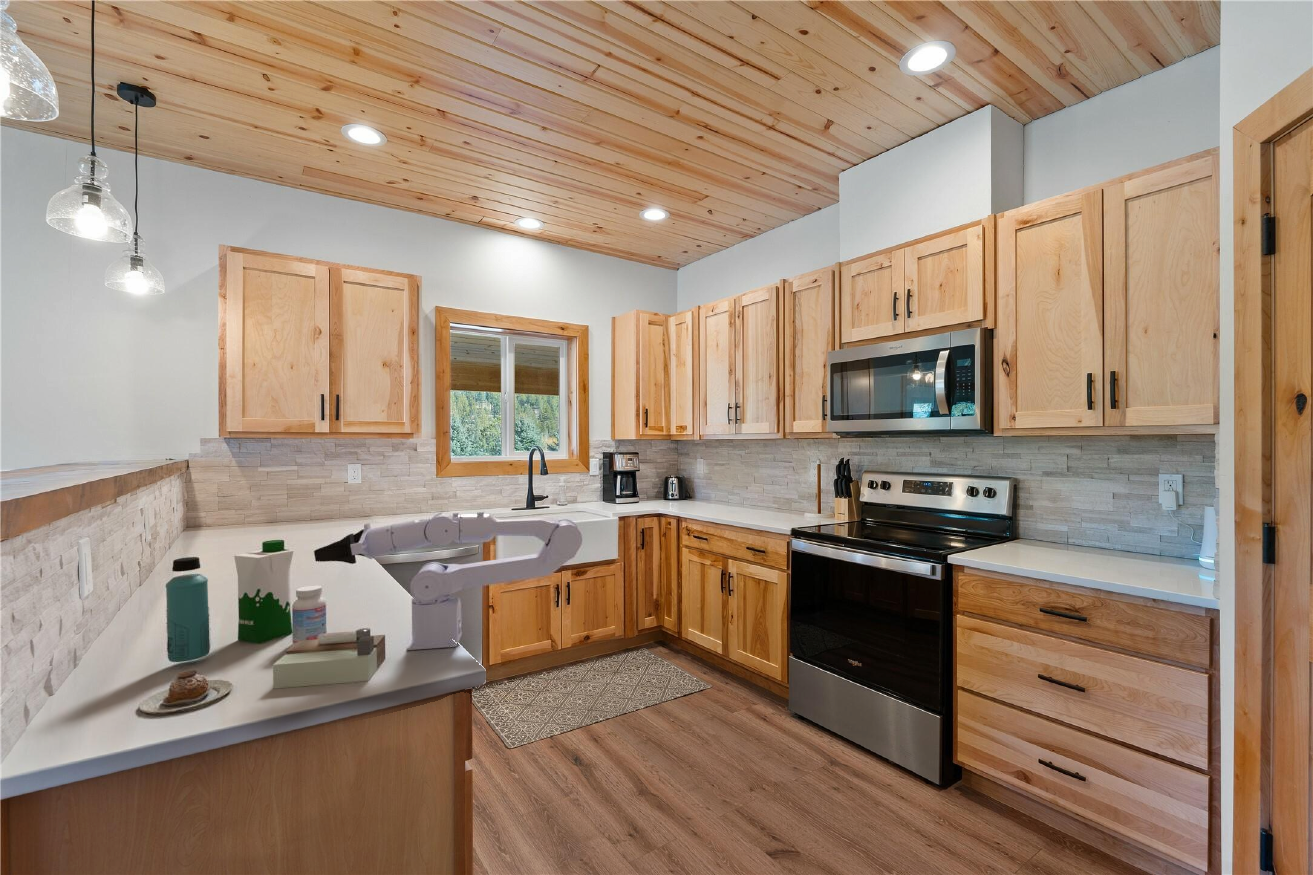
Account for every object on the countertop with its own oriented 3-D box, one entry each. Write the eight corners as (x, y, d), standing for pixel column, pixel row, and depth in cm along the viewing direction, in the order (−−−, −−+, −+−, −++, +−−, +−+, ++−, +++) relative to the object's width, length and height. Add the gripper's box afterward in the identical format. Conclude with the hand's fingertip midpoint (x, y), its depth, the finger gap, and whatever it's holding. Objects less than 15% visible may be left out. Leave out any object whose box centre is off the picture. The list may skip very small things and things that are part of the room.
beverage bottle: (219, 659, 114) (217, 555, 114) (181, 672, 107) (179, 562, 107) (195, 656, 116) (193, 553, 116) (157, 668, 109) (155, 560, 109)
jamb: (385, 658, 113) (385, 634, 113) (377, 669, 108) (376, 644, 108) (299, 664, 110) (299, 640, 110) (286, 676, 105) (286, 651, 105)
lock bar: (372, 637, 111) (372, 627, 111) (368, 641, 108) (368, 631, 108) (321, 640, 109) (321, 631, 109) (316, 645, 107) (316, 635, 107)
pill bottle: (311, 648, 119) (310, 592, 119) (285, 646, 120) (284, 591, 120) (333, 638, 125) (332, 584, 125) (308, 636, 126) (307, 583, 126)
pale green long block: (377, 669, 107) (376, 633, 107) (368, 680, 102) (368, 643, 102) (286, 676, 105) (285, 639, 105) (273, 688, 100) (272, 649, 100)
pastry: (247, 683, 103) (247, 657, 103) (206, 715, 91) (206, 685, 91) (170, 689, 101) (170, 662, 101) (119, 722, 89) (118, 691, 89)
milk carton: (299, 632, 129) (297, 540, 129) (257, 646, 121) (256, 548, 121) (271, 628, 132) (270, 538, 132) (229, 641, 124) (227, 545, 124)
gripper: (399, 515, 127) (330, 529, 124) (383, 522, 113) (305, 537, 110) (405, 548, 127) (336, 562, 124) (389, 558, 112) (311, 574, 110)
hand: (322, 553), depth 117 cm, fingers open, 7 cm apart
